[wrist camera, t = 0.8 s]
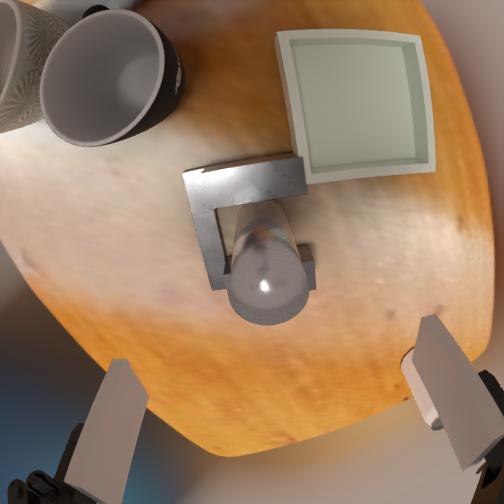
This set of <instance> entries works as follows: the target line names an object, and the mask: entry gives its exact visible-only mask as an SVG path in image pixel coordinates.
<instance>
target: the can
mask: <svg viewBox="0 0 504 504" xmlns="http://www.w3.org/2000/svg"><path fill="white" fill-rule="evenodd" d="M414 348H415V347H414ZM414 348H412V349H411V350H410V351H409V352H408V353H407V354H406V355H405V357H404V358H403V360H402V363H401V369H402V372H403V374H404V376H405V378H406V381H407V383H408V385H409V387H410V389H411V391H412V394H413V396H414V398H415V400H416V402H417V405H418V407H419V409H420V411H421V414H422V416H423V418H424V420H425V422H426V423H427V424H428V425H430V426H431V429H432V430H434V431H436V430H440V429H443V428H444V426H443V424H442V422H441V419H440V417H439V415H438V413H437V411H436V409H435V407H434V405H433V402H432V400H431V398H430V396H429V394H428V392H427V390H426V388H425V386H424V384H423V382H422V380H421V378H420V376H419V374H418V372H417V371H416V369H415V367H414V365H413V363H412V361H411V360H412V356H413V352H414Z"/></svg>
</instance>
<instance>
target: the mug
mask: <svg viewBox="0 0 504 504" xmlns="http://www.w3.org/2000/svg"><path fill="white" fill-rule="evenodd" d="M184 86H185V74H184V69H183V65H182V62H181V60H180V58H179V56H178V54H177V52H176V50H175V49H174V47H173V45H172V44H171V42H170V41H169V40H168V39H167V37H166V36H165V35H164V34H163V33H162V31H161V30H160V29H159V28H158V27H157V26H156V25H154V24H153V23H152V22H151V21H150V20H148V19H147V18H145V17H144V16H142V15H140V14H138V13H135V12H133V11H129V10H123V9H111V10H110V9H108V8H107V7H105V6H103V5H95V6H92V7H90V8H89V9H88V10H87V11H86V12H85V13H84V15H83V18H82V20H80V21H79V22H77V23H76V24H75V25H73V26H72V27H71V28H70V29H69V30H67V31H66V32H65V33H64V34H63V36H62V37H61V38H60V39H59V40H58V42H57V43H56V44H55V46H54V47H53V49H52V51H51V52H50V54H49V56H48V58H47V60H46V63H45V65H44V68H43V72H42V76H41V81H40V103H41V108H42V112H43V115H44V118H45V120H46V122H47V124H48V125H49V127H50V128H51V129H52V131H53V132H54V133H55V134H56V135H57V136H58V137H60V138H61V139H63V140H64V141H66V142H68V143H70V144H73V145H76V146H82V147H96V146H103V145H107V144H111V143H115V142H118V141H121V140H124V139H127V138H129V137H132V136H135V135H137V134H139V133H141V132H144V131H146V130H148V129H150V128H151V127H153V126H155V125H157V124H158V123H160V122H161V121H163V120H164V119H165V118H166V117H167V116H168V115H170V114H171V112H172V111H173V110H174V109H175V108H176V106H177V105H178V103H179V101H180V99H181V97H182V94H183V91H184Z"/></svg>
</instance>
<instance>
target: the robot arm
mask: <svg viewBox="0 0 504 504" xmlns="http://www.w3.org/2000/svg"><path fill="white" fill-rule="evenodd" d="M411 361H412V363H413V365H414V367H415V369H416V371H417V372H418V374H419V376H420V378H421V380H422V382H423V384H424V386H425V388H426V390H427V392H428V394H429V396H430V398H431V400H432V402H433V405H434V407H435V409H436V411H437V413H438V415H439V417H440V419H441V422H442V424H443V426H444V428H445V431H446V433H447V435H448V437H449V440H450V442H451V444H452V446H453V449H454V451H455V454H456V456H457V459H458V461H459V464H460V466H461V469H462V471H465V470H467V469H469V468H471V467H473V466H475V465H476V464H478V463H479V462H480V461H481V460H482V459H483V458H485V460H486V462H485V463H484V464H483V465H482V466H481V467H480V468H479V469H478V470H477V472H476V474H478V473H480V472H481V471H482V473H481V477H480V480H479V483H478V485H477V488H476V491H475V494H474V496H473V499H472V502H471V504H504V391H503V389H502V388H501V387H500V384H499V383H498V381H497V380H496V378H495V377H494V376H493V375H492V374H491V373H489V372H488V371H487V370H483V371H481V372H479V373H477V372H476V370H475V369H474V367H473V366H472V364H471V363H470V361H469V360H468V358H467V357H466V355H465V354H464V352H463V351H462V350H461V348H460V347H459V345H458V344H457V342H456V341H455V340H454V338H453V337H452V335H451V334H450V333H449V331H448V330H447V329H446V327H445V326H444V324H443V323H442V322H441V320H440V319H439V318H438V316H437V315H436V314H433V315H429V316H426V317H422V318H421V322H420V327H419V331H418V336H417V340H416V344H415V348H414V352H413V356H412V360H411ZM148 398H149V395H148V393H147V392H146V390H145V389H144V387H143V385H142V384H141V382H140V381H139V379H138V377H137V376H136V374H135V373H134V371H133V369H132V368H131V366H130V364H129V362H128V361H127V359H113V360H112V362H111V364H110V367H109V369H108V371H107V373H106V376H105V378H104V380H103V382H102V384H101V387H100V389H99V391H98V393H97V396H96V398H95V400H94V403H93V405H92V407H91V410H90V412H89V415H88V417H87V420H86V422H85V424H82V423H79V424H78V425H77V426H76V427H75V429H74V430H73V431H72V433H71V435H70V438H69V440H68V443H67V445H66V448H65V449H66V450H65V451H64V453H63V455H62V458H61V461H60V464H59V466H58V469H57V472H56V474H55V477H54V479H53V478H51V477H50V476H49V475H47V474H46V473H45V472H43V471H40V470H36V471H33V472H32V473H30V475H29V476H28V477H27V480H26V483H24V482H23V481H21V480H19V479H16V480H13V481H12V482H11V483H10V484H9V486H8V504H96V503H99V504H121V502H122V498H123V493H124V489H125V485H126V481H127V476H128V472H129V468H130V464H131V460H132V456H133V452H134V449H135V444H136V441H137V437H138V433H139V430H140V426H141V423H142V419H143V415H144V412H145V409H146V405H147V402H148Z"/></svg>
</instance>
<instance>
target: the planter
mask: <svg viewBox="0 0 504 504" xmlns="http://www.w3.org/2000/svg"><path fill="white" fill-rule="evenodd" d="M69 29H70V27H69V26H68V25H67V24H66V23H65V22H64V21H62V20H61V19H59V18H58V17H56V16H54V15H52V14H50V13H48V12H46V11H44V10H42V9H39V8H37V7H34V6H32V5H29V4H27V3H24V2H21V1H18V0H0V133H4V132H8V131H11V130H14V129H18V128H21V127H24V126H27V125H30V124H32V123H35V122H37V121H39V120H41V119H42V118H44V115H43V112H42V108H41V103H40V81H41V76H42V72H43V68H44V65H45V63H46V60H47V58H48V56H49V54H50V52H51V51H52V49H53V47H54V46H55V44H56V43H57V42H58V40H59V39H60V38H61V37H62V36H63V34H64V33H65V32H66V31H67V30H69Z"/></svg>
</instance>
